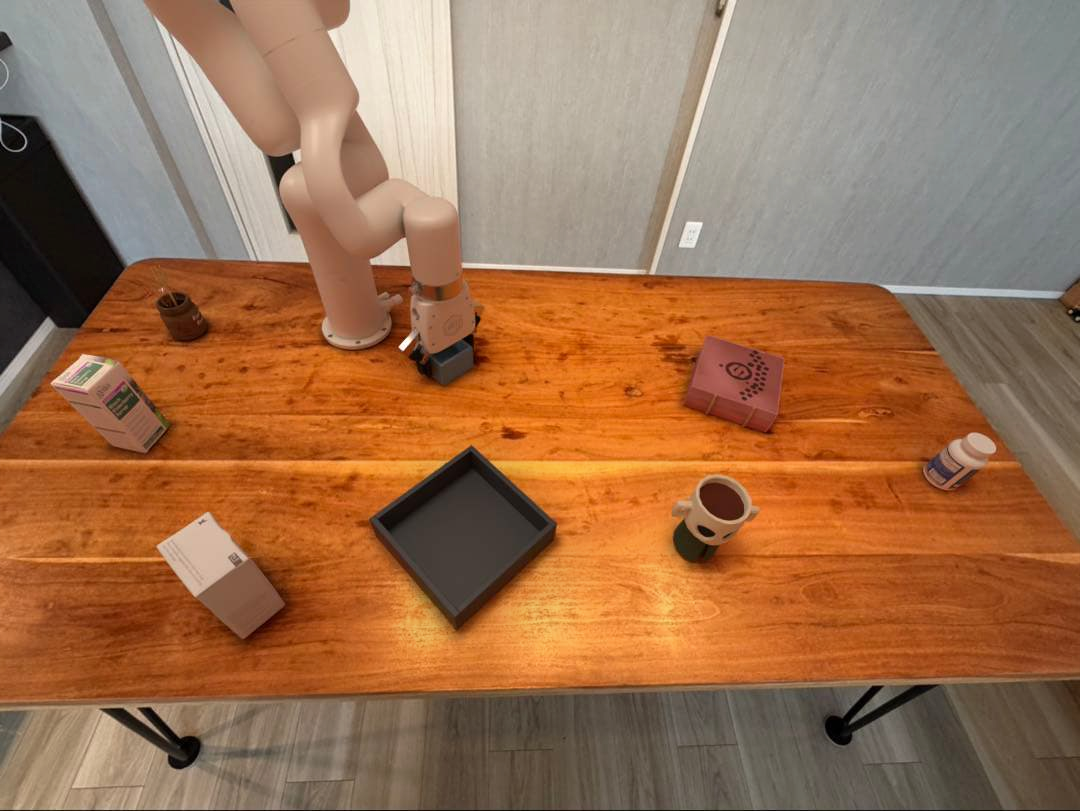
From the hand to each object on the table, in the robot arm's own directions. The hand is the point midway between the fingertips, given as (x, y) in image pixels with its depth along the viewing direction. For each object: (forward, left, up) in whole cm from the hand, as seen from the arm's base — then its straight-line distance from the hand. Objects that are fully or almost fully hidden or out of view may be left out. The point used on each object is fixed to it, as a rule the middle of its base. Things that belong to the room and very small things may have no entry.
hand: (447, 361), depth 92 cm
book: (-34, +39, -2) cm, 52 cm away
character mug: (-4, +51, -2) cm, 51 cm away
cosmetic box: (+44, +16, -2) cm, 47 cm away
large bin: (+19, +28, -2) cm, 34 cm away
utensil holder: (+29, -38, -2) cm, 48 cm away
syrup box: (+44, -19, -2) cm, 48 cm away
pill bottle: (-44, +73, -2) cm, 85 cm away
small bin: (0, 0, -2) cm, 2 cm away
